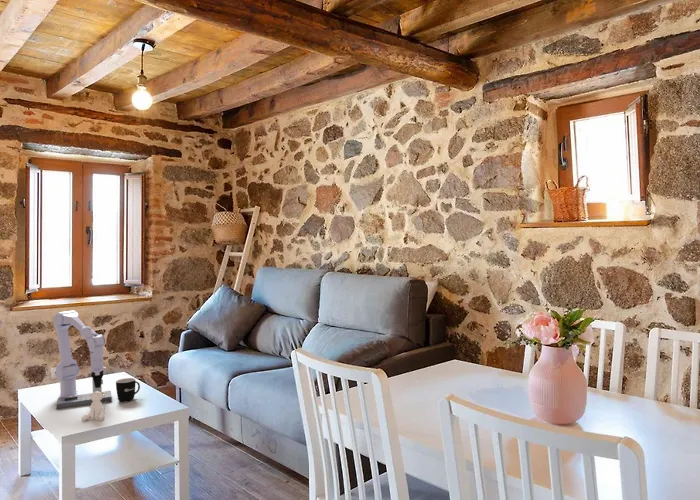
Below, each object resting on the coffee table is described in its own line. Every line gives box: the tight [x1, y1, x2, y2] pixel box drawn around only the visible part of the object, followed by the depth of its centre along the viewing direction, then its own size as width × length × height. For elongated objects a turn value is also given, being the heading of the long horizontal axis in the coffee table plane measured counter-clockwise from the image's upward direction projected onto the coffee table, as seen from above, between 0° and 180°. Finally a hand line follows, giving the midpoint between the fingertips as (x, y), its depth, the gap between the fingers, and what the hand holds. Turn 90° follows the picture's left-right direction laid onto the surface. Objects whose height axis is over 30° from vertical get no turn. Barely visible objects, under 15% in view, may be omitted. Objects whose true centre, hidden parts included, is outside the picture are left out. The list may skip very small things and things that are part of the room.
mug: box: [115, 377, 141, 403], centre depth 265 cm, size 12×9×10 cm
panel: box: [56, 390, 113, 410], centre depth 262 cm, size 12×24×3 cm, turn 116°
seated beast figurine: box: [81, 391, 105, 422], centre depth 238 cm, size 10×9×12 cm
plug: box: [91, 378, 104, 393], centre depth 265 cm, size 4×5×7 cm
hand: (97, 386), depth 265 cm, fingers closed on plug, 4 cm apart
